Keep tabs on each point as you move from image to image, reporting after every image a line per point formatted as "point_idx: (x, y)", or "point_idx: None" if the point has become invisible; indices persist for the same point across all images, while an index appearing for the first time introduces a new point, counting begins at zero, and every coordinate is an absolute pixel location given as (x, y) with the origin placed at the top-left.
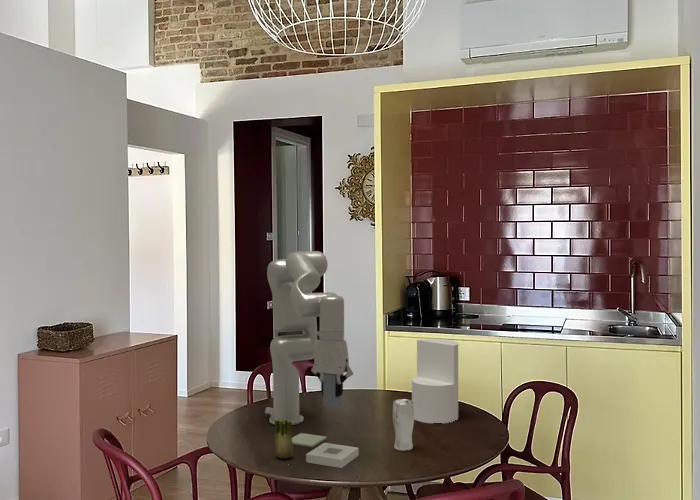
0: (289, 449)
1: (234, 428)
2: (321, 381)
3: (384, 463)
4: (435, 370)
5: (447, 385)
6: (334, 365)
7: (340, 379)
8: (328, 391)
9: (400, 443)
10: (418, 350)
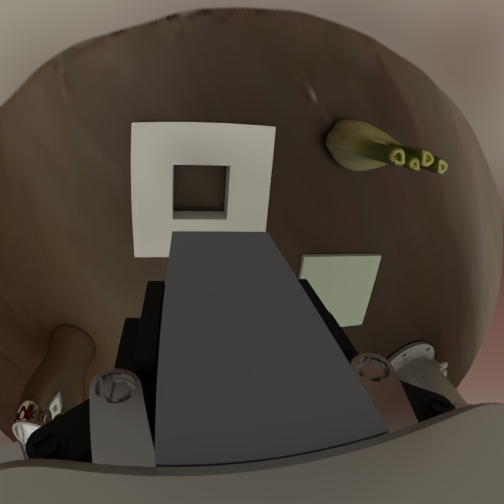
0: (339, 132)
1: (479, 286)
2: (364, 364)
3: (46, 220)
4: None
5: None
6: None
7: (92, 422)
8: (242, 290)
9: (63, 338)
10: None
